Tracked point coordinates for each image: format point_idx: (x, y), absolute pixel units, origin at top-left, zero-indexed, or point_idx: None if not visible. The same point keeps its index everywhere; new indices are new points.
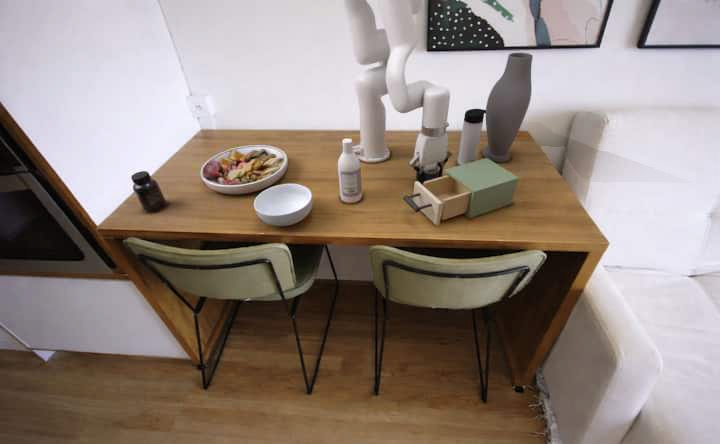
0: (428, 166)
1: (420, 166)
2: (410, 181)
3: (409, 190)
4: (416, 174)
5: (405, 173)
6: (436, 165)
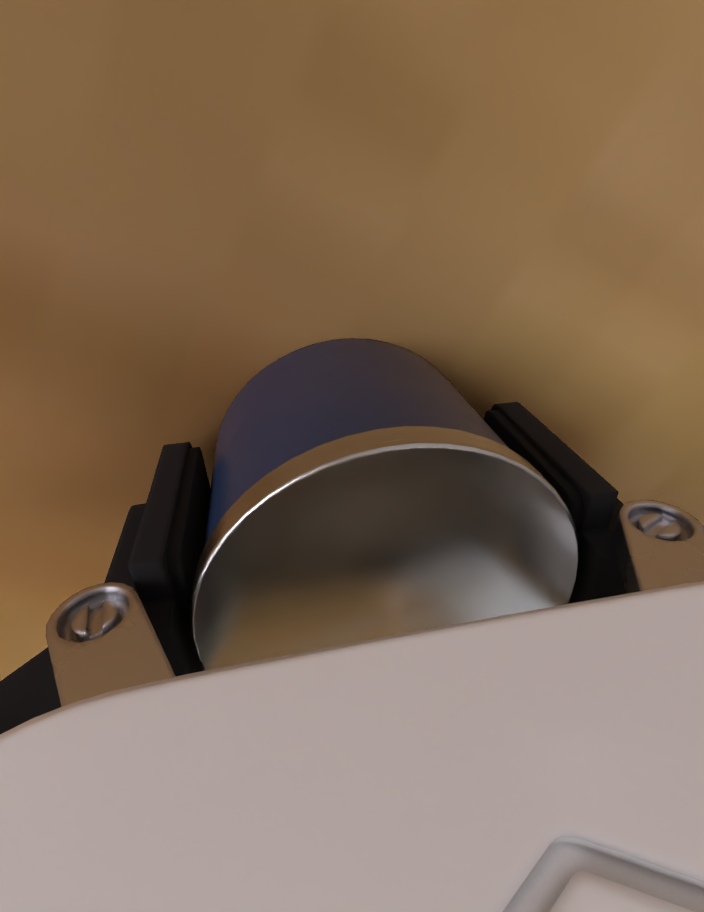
0: (392, 582)
1: (230, 539)
2: (71, 404)
3: (4, 585)
4: (114, 561)
5: (32, 85)
6: (545, 584)
